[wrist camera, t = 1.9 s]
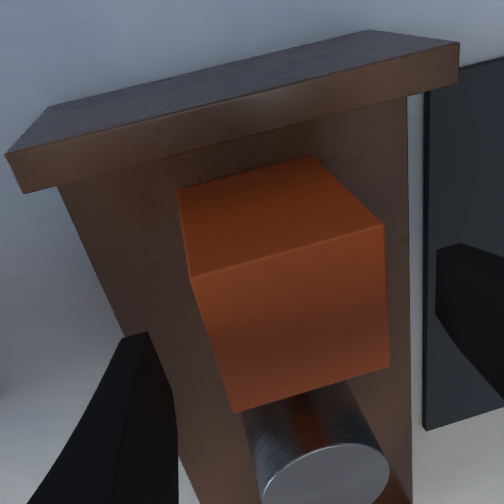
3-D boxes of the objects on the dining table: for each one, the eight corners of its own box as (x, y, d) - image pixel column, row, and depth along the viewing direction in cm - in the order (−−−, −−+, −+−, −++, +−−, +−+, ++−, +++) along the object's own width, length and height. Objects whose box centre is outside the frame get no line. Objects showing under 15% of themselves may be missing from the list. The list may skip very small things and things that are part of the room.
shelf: (225, 529, 28) (240, 630, 23) (46, 107, 14) (1, 154, 10) (392, 476, 29) (437, 563, 24) (369, 29, 15) (461, 41, 11)
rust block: (209, 300, 16) (233, 414, 12) (175, 189, 14) (189, 278, 9) (326, 267, 17) (391, 366, 12) (311, 153, 14) (385, 223, 10)
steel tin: (250, 441, 20) (274, 545, 16) (228, 370, 18) (250, 471, 14) (346, 412, 21) (392, 506, 17) (337, 337, 18) (387, 427, 14)
